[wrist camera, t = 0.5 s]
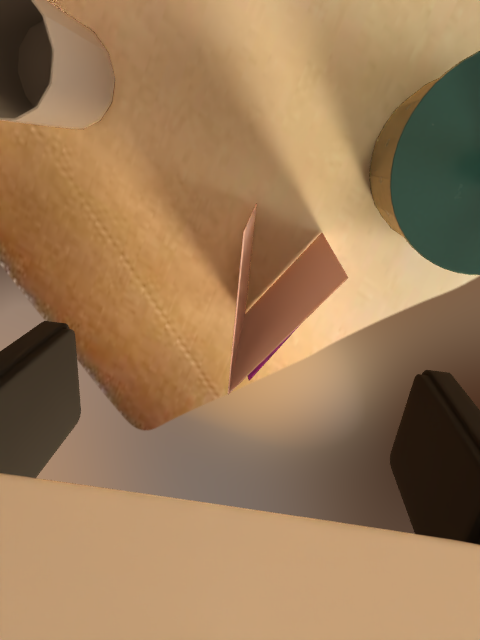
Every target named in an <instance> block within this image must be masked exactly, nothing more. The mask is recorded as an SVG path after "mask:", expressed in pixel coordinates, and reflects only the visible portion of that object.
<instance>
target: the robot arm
mask: <svg viewBox="0 0 480 640" xmlns="http://www.w3.org/2000/svg"><path fill="white" fill-rule="evenodd" d="M79 394H80V393H79V380H78V368H77V354H76V341H75V333H74V331H73V330H71V329H69V327H68V325H67V324H65V323H57V322H49V321H44V322H42V323H40V324H39V325H37V326H36V327H35V328H33V329H32V330H30V331H29V332H27V333H26V334H25V335H23V336H22V337H20V338H19V339H17V340H16V341H15V342H13V343H12V344H10V345H9V346H8V347H6V348H5V349H3V350H2V351H0V640H480V410H479V409H478V408H477V406H476V405H475V404H474V403H473V401H472V400H471V399H470V397H469V396H468V395H467V394H466V393H465V391H464V390H463V389H462V387H461V386H460V385H459V384H458V382H457V381H456V380H455V379H454V377H453V376H452V375H451V374H450V373H447V372H439V371H431V370H425V371H424V372H423V373H422V375H420V374H418V375H416V377H415V379H414V382H413V385H412V388H411V391H410V394H409V397H408V400H407V404H406V407H405V410H404V413H403V416H402V420H401V423H400V426H399V429H398V432H397V435H396V439H395V442H394V445H393V448H392V451H391V455H390V464H391V468H392V471H393V474H394V477H395V480H396V482H397V485H398V488H399V490H400V493H401V496H402V499H403V502H404V504H405V507H406V510H407V513H408V515H409V518H410V521H411V524H412V526H413V529H414V532H415V534H411V533H405V532H398V531H392V530H385V529H379V528H372V527H365V526H358V525H352V524H346V523H339V522H332V521H326V520H319V519H312V518H306V517H299V516H292V515H285V514H279V513H272V512H265V511H258V510H251V509H245V508H238V507H232V506H225V505H218V504H211V503H205V502H197V501H191V500H184V499H177V498H170V497H162V496H156V495H149V494H142V493H136V492H129V491H121V490H114V489H107V488H101V487H94V486H87V485H81V484H73V483H66V482H59V481H52V480H45V479H38V478H36V477H37V476H38V474H39V473H40V471H41V470H42V469H43V468H44V466H45V465H46V464H47V463H48V461H49V460H50V458H51V457H52V456H53V455H54V453H55V452H56V451H57V449H58V448H59V446H60V445H61V444H62V443H63V441H64V440H65V439H66V437H67V436H68V434H69V433H70V432H71V431H72V429H73V428H74V427H75V425H76V424H77V422H78V420H79V418H80V413H81V407H80V395H79Z"/></svg>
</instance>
